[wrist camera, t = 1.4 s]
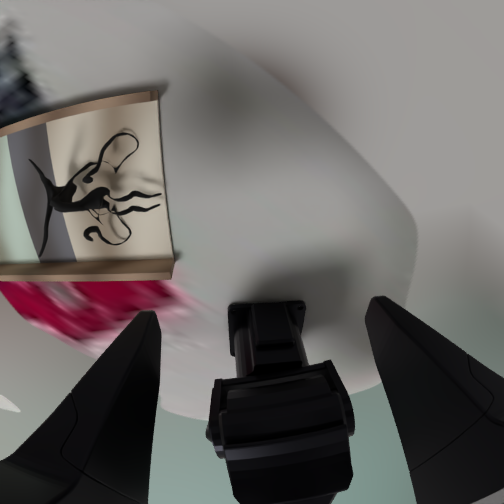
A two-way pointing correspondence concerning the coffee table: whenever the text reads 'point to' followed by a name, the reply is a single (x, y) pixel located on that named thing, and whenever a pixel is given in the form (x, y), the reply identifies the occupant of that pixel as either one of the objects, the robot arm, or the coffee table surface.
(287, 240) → the coffee table surface
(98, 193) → the creature
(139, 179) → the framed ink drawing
